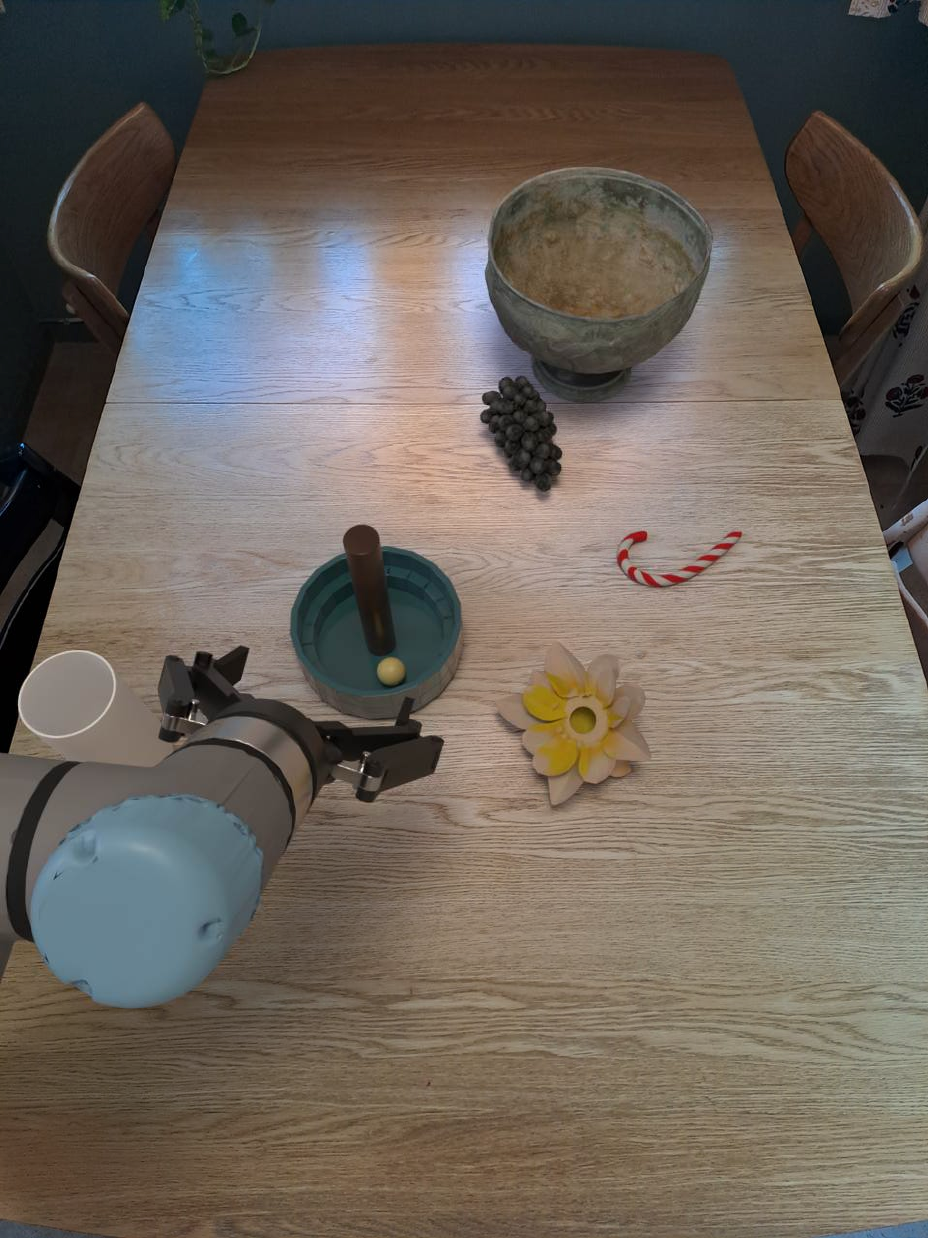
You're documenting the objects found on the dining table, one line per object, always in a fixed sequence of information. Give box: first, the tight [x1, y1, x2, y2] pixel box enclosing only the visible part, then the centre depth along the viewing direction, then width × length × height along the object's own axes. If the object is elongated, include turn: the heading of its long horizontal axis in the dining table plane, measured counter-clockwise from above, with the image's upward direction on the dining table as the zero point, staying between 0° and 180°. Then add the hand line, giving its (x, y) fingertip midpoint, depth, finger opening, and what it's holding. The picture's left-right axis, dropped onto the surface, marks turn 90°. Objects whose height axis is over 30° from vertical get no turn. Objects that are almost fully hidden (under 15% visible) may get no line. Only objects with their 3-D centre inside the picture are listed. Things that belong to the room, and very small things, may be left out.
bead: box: [377, 657, 406, 686], centre depth 87 cm, size 3×3×3 cm
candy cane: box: [616, 528, 743, 587], centre depth 96 cm, size 8×1×15 cm
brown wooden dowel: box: [342, 524, 396, 656], centre depth 82 cm, size 3×3×20 cm
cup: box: [17, 649, 175, 767], centre depth 78 cm, size 8×8×16 cm
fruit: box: [479, 375, 564, 493], centre depth 100 cm, size 9×8×15 cm
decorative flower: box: [495, 640, 652, 806], centre depth 82 cm, size 15×11×10 cm
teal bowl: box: [289, 545, 463, 719], centre depth 88 cm, size 17×17×6 cm
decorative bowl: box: [484, 166, 714, 403], centre depth 102 cm, size 26×26×20 cm
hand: (323, 688), depth 66 cm, fingers open, 13 cm apart
